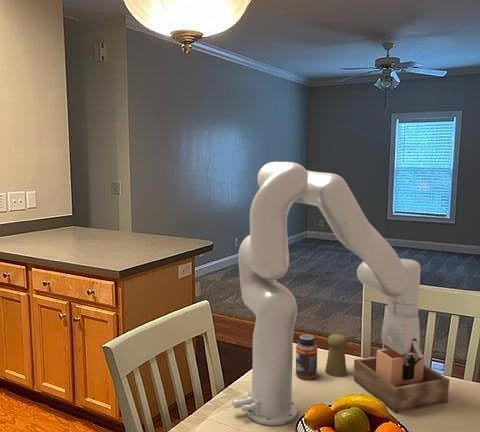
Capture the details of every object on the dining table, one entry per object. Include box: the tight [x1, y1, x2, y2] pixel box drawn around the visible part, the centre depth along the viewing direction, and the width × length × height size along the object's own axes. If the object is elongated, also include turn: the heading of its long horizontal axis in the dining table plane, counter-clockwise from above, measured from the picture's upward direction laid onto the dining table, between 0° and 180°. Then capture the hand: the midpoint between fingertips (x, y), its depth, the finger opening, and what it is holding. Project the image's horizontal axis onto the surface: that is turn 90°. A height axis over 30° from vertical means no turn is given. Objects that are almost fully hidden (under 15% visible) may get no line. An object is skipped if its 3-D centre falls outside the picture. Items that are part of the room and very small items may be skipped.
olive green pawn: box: [324, 333, 348, 378], centre depth 138 cm, size 6×6×11 cm
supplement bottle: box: [295, 334, 318, 380], centre depth 136 cm, size 6×6×11 cm
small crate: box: [376, 348, 425, 385], centre depth 127 cm, size 10×6×7 cm, turn 109°
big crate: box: [353, 355, 450, 414], centre depth 128 cm, size 16×18×6 cm
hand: (399, 372), depth 127 cm, fingers closed on small crate, 6 cm apart
